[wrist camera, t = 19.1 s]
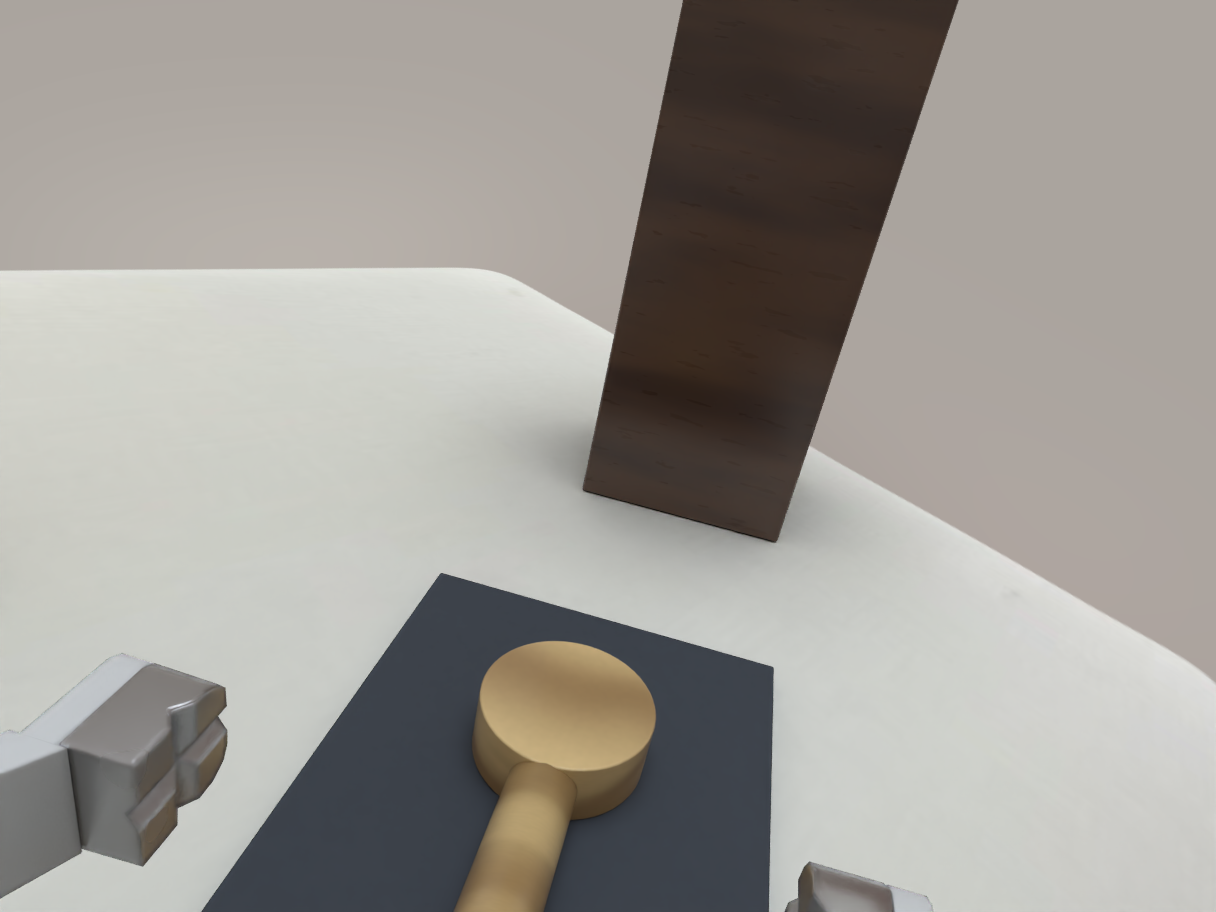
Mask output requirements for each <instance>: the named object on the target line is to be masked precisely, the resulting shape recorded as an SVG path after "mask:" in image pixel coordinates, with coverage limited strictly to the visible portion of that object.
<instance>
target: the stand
mask: <svg viewBox="0 0 1216 912" xmlns="http://www.w3.org/2000/svg"><path fill="white" fill-rule="evenodd" d="M957 4H958V0H683V3H682V8H681V13H680V18H679V23H678V27H677V33H676V37H675V42H674V47H673V52H672V57H671V62H670V67H669V71H668V76H667V81H666V86H665V91H664V95H663V100H662V105H661V110H660V115H659V120H658V125H657V130H656V134H655V139H654V144H653V149H652V154H651V159H650V164H649V169H648V173H647V178H646V183H645V188H644V193H643V198H642V203H641V208H640V212H639V217H638V222H637V227H636V232H635V237H634V241H633V247H632V251H631V256H630V261H629V266H628V271H627V276H626V280H625V286H624V290H623V295H622V300H621V305H620V310H619V314H618V319H617V325H616V329H615V334H614V339H613V344H612V349H611V353H610V358H609V363H608V368H607V373H606V378H605V383H604V387H603V392H602V397H601V402H600V407H599V412H598V417H597V422H596V426H595V431H594V436H593V441H592V446H591V451H590V456H589V460H588V465H587V470H586V475H585V480H584V485H583V490H585V491H589V492H593V493H596V494H600V495H604V496H607V497H611V498H615V499H619V500H622V501H626V502H630V503H633V504H637V505H641V506H645V507H648V508H652V509H656V510H659V511H663V512H667V513H671V514H674V515H678V516H682V517H685V518H689V519H693V520H696V521H700V522H704V523H708V524H711V525H715V526H719V527H722V528H726V529H730V530H734V531H737V532H741V533H745V534H748V535H752V536H756V537H760V538H763V539H767V540H771V541H774V542H776V541H777V540H778V537H779V534H780V531H781V528H782V525H783V522H784V519H785V516H786V513H787V510H788V507H789V504H790V501H791V498H792V495H793V492H794V489H795V486H796V483H797V480H798V477H799V474H800V471H801V468H802V465H803V462H804V459H805V456H806V453H807V450H808V447H809V444H810V442H811V439H812V436H813V432H814V430H815V426H816V423H817V421H818V418H819V414H820V411H821V409H822V406H823V403H824V400H825V397H826V394H827V391H828V388H829V385H830V382H831V379H832V376H833V373H834V370H835V367H836V364H837V361H838V358H839V355H840V352H841V349H842V346H843V343H844V340H845V337H846V334H847V331H848V328H849V325H850V322H851V319H852V316H853V313H854V310H855V307H856V304H857V301H858V298H859V295H860V293H861V290H862V287H863V284H864V280H865V277H866V275H867V272H868V269H869V266H870V263H871V259H872V257H873V253H874V251H875V248H876V245H877V242H878V239H879V236H880V233H881V230H882V227H883V224H884V221H885V218H886V215H887V212H888V209H889V206H890V203H891V200H892V197H893V194H894V191H895V188H896V185H897V182H898V179H899V176H900V173H901V170H902V167H903V164H904V161H905V158H906V155H907V152H908V150H909V147H910V144H911V140H912V137H913V134H914V131H915V129H916V126H917V122H918V120H919V116H920V114H921V111H922V108H923V105H924V102H925V99H926V95H927V93H928V90H929V87H930V84H931V81H932V78H933V75H934V72H935V69H936V66H937V63H938V60H939V57H940V54H941V51H942V48H943V45H944V42H945V39H946V36H947V33H948V30H949V27H950V24H951V21H952V18H953V15H954V12H955V10H956V6H957Z"/></svg>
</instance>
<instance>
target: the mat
mask: <svg viewBox="0 0 1216 912" xmlns="http://www.w3.org/2000/svg"><path fill="white" fill-rule="evenodd" d="M545 641H564V642H572V643H578V644H583V645H587V646H590V647H593V648H596V649H599V650H601V651H604V652H606V653H608V654H610V655H612V656H614V657H615V658H617V659H619V660H620V661H622V662H623V663H625V664H626V665H627V666H628V667H630V668H631V669H632V670H633V671H634V672H635V673H636V674H637V675H638V676H639V677H640V678H641V679H642V681H643V682H644V683H645V685H646V686H647V688H648V690H649V691H650V694H651V696H652V698H653V701H654V705H655V710H656V723H655V729H654V732H653V735H652V739H651V742H650V746H649V749H648V752H647V756H646V759H645V763H644V766H643V770H642V773H641V776H640V780H639V782H638V784H637V786H636V788H635V789H634V790H633V792H632V793H631V794H630V795H629V796H628V797H627V798H626V799H625V800H624V801H623V802H622V803H621V804H619V805H618V806H617V807H615V808H613V809H612V810H610V811H608V812H606V813H603V814H600V815H598V816H595V817H590V818H586V819H578V820H570V822H569V826H568V829H567V833H566V836H565V840H564V843H563V846H562V850H561V853H560V857H559V860H558V864H557V867H556V871H555V874H554V877H553V881H552V884H551V888H550V891H549V895H548V898H547V902H546V905H545V908H544V912H769V866H770V819H771V771H772V723H773V675H774V668H773V667H771V666H768V665H764V664H760V663H757V662H753V661H750V660H746V659H743V658H739V657H736V656H732V655H729V654H725V653H722V652H718V651H715V650H711V649H708V648H704V647H701V646H697V645H694V644H690V643H686V642H683V641H679V640H676V639H672V638H669V637H665V636H662V635H658V634H655V633H651V632H648V631H644V630H641V629H637V628H634V627H630V626H627V625H623V624H620V623H616V622H612V621H609V620H605V619H602V618H598V617H595V616H591V615H588V614H584V613H581V612H577V611H574V610H570V609H567V608H563V607H560V606H556V605H553V604H549V603H546V602H542V601H539V600H535V599H531V598H528V597H524V596H521V595H517V594H514V593H510V592H507V591H503V590H500V589H496V588H493V587H489V586H486V585H482V584H479V583H475V582H472V581H468V580H465V579H461V578H457V577H454V576H450V575H447V574H443V573H440V575H439V576H438V578H437V579H436V580H435V582H434V583H433V585H432V586H431V588H430V589H429V590H428V592H427V593H426V595H425V596H424V597H423V599H422V600H421V602H420V603H419V605H418V606H417V607H416V609H415V610H414V612H413V613H412V614H411V616H410V617H409V619H408V620H407V622H406V623H405V624H404V626H403V627H402V629H401V630H400V631H399V633H398V634H397V636H396V637H395V639H394V640H393V641H392V643H391V644H390V646H389V647H388V648H387V650H386V651H385V653H384V654H383V655H382V657H381V658H380V660H379V661H378V663H377V664H376V665H375V667H374V668H373V670H372V671H371V672H370V674H369V675H368V677H367V678H366V680H365V681H364V682H363V684H362V685H361V687H360V688H359V689H358V691H357V692H356V694H355V695H354V697H353V698H352V699H351V701H350V702H349V704H348V705H347V706H346V708H345V709H344V711H343V712H342V713H341V715H340V716H339V718H338V719H337V721H336V722H335V723H334V725H333V726H332V728H331V729H330V730H329V732H328V733H327V735H326V736H325V738H324V739H323V740H322V742H321V743H320V745H319V746H318V747H317V749H316V750H315V752H314V753H313V755H312V756H311V757H310V759H309V760H308V762H307V763H306V764H305V766H304V767H303V769H302V770H301V771H300V773H299V774H298V776H297V777H296V779H295V780H294V781H293V783H292V784H291V786H290V787H289V788H288V790H287V791H286V793H285V794H284V796H283V797H282V798H281V800H280V801H279V803H278V804H277V805H276V807H275V808H274V810H273V811H272V813H271V814H270V815H269V817H268V818H267V820H266V821H265V822H264V824H263V825H262V827H261V828H260V829H259V831H258V832H257V834H256V835H255V837H254V838H253V839H252V841H251V842H250V844H249V845H248V846H247V848H246V849H245V851H244V852H243V854H242V855H241V856H240V858H239V859H238V861H237V862H236V863H235V865H234V866H233V868H232V869H231V871H230V872H229V873H228V875H227V876H226V878H225V879H224V880H223V882H222V883H221V885H220V886H219V888H218V889H217V890H216V892H215V893H214V895H213V896H212V897H211V899H210V900H209V902H208V903H207V904H206V906H205V907H204V909H203V910H202V912H453V911H454V909H455V906H456V904H457V901H458V899H459V896H460V894H461V891H462V889H463V886H464V884H465V881H466V879H467V876H468V874H469V871H470V869H471V866H472V864H473V861H474V859H475V856H476V854H477V851H478V849H479V846H480V844H481V841H482V839H483V836H484V834H485V831H486V829H487V826H488V824H489V821H490V819H491V816H492V814H493V811H494V809H495V806H496V804H497V801H498V799H499V795H498V794H497V793H495V792H494V791H493V790H492V789H491V787H490V786H489V785H488V784H487V783H486V781H485V780H484V779H483V777H482V776H481V774H480V772H479V770H478V768H477V766H476V763H475V760H474V757H473V751H472V736H473V730H474V724H475V718H476V712H477V705H478V699H479V693H480V688H481V683H482V681H483V678H484V676H485V674H486V673H487V671H488V669H489V668H490V667H491V666H492V665H493V664H494V662H495V661H497V660H498V659H499V658H500V657H501V656H503V655H504V654H506V653H508V652H509V651H511V650H513V649H516V648H518V647H521V646H524V645H527V644H532V643H536V642H545Z"/></svg>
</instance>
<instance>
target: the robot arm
mask: <svg viewBox="0 0 1216 912" xmlns="http://www.w3.org/2000/svg"><path fill="white" fill-rule="evenodd" d="M226 706H227V704H226V691H225V687H222V686H220V685H218V684H216V683H213V682H210V681H207V680H204V679H201V678H198V677H195V676H192V675H189V674H186V673H183V672H180V671H177V670H174V669H171V668H168V667H165V666H161V665H158V664H155V663H151V662H148V661H145V660H142V659H139V658H136V657H133V656H130V655H126V654H123V653H121V654H118V655H116V656H113V657H110V658H108V659H107V660H106V661H104V662H103V663H102V664H101V665H100V666H98V667H97V668H96V669H95V670H94V671H93V672H91V673H90V674H89V675H88V676H87V677H85V678H84V679H83V680H82V681H81V682H79V683H78V684H77V685H76V686H75V687H74V688H72V689H71V690H70V691H69V692H68V693H66V694H65V695H64V696H63V697H62V698H60V699H59V700H58V701H57V702H56V703H54V704H53V705H52V706H51V707H50V708H49V709H47V710H46V711H45V712H44V713H43V714H41V715H40V716H39V717H38V718H37V719H35V720H34V721H33V722H32V723H31V724H30V725H28V726H27V727H26V728H25V729H24V730H22V731H21V732H20V733H19V732H15V731H12V730H8V731H5V732H2V733H0V898H2V897H4V896H5V895H7V894H9V893H11V892H13V891H14V890H16V889H18V888H20V887H22V886H23V885H25V884H27V883H29V882H30V881H32V880H34V879H36V878H38V877H39V876H41V875H43V874H45V873H46V872H48V871H50V870H52V869H54V868H55V867H57V866H59V865H61V864H63V863H64V862H66V861H68V860H70V859H71V858H73V857H75V856H77V855H79V854H80V853H81V852H82V850H81V849H84V850H88V851H91V852H95V853H98V854H101V855H105V856H108V857H112V858H115V859H119V860H122V861H125V862H129V863H132V864H136V865H139V866H142V867H143V866H144V865H145V863H146V862H147V861H148V860H149V859H150V857H151V856H152V855H153V854H154V853H155V851H156V850H157V849H158V848H159V847H160V845H161V844H162V843H163V842H164V840H165V839H166V838H167V837H168V836H169V834H170V833H171V832H172V831H173V830H174V828H175V827H176V826H177V817H178V808H179V807H181V806H183V805H186V804H188V803H190V802H192V801H194V800H197V799H199V798H200V797H201V795H202V794H203V793H204V792H205V790H206V789H207V788H208V787H209V785H210V784H211V783H212V782H213V780H214V778H215V776H216V774H217V772H218V770H219V768H220V766H221V764H222V762H223V760H224V756H225V751H226V747H227V729H226V728H225V726H224V725H223V723H222V722H221V720H220V719H219V717H218V715H219V714H220V713H221V712H222V711H223V710H224V708H225V707H226ZM785 912H933V907H932V904H931V902H930V901H929V899H928V897H927V896H924V895H920V894H917V893H914V892H910V891H907V890H904V889H900V888H897V887H894V886H890V885H885V884H884V883H882V882H878V881H875V880H872V879H868V878H865V877H861V876H858V875H854V874H851V873H847V872H844V871H840V870H837V869H833V868H830V867H826V866H823V865H819V864H816V863H813V862H809V863H808V864H807V865H806V866H805V867H804V869H803V871H802V873H801V875H800V877H799V879H798V898H797V899H795V900H793V901H791V902H789V903H788V905H787V907H786V910H785Z"/></svg>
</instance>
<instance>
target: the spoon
mask: <svg viewBox="0 0 1216 912" xmlns="http://www.w3.org/2000/svg"><path fill="white" fill-rule="evenodd" d="M655 723H656V710H655V705H654V701H653V698H652V696H651V694H650V691H649V690H648V688H647V686H646V685H645V683H644V682H643V681H642V679H641V678H640V677H639V676H638V675H637V674H636V673H635V672H634V671H633V670H632V669H631V668H630V667H628V666H627V665H626V664H625V663H623V662H622V661H620V660H619V659H617V658H615V657H614V656H612V655H610V654H608V653H606V652H604V651H601V650H599V649H596V648H593V647H590V646H587V645H583V644H578V643H572V642H564V641H545V642H536V643H532V644H527V645H524V646H521V647H518V648H516V649H513V650H511V651H509V652H508V653H506V654H504V655H503V656H501V657H500V658H499V659H498V660H497V661H495V662H494V664H493V665H492V666H491V667H490V668H489V669H488V671H487V673H486V674H485V676H484V678H483V681H482V683H481V688H480V693H479V699H478V705H477V712H476V718H475V724H474V730H473V736H472V751H473V757H474V760H475V763H476V766H477V768H478V770H479V772H480V774H481V776H482V777H483V779H484V780H485V781H486V783H487V784H488V785H489V786H490V787H491V789H492V790H493V791H494V792H495V793H497V794H498V795H499V799H498V801H497V804H496V806H495V809H494V811H493V814H492V816H491V819H490V821H489V824H488V826H487V829H486V831H485V834H484V836H483V839H482V841H481V844H480V846H479V849H478V851H477V854H476V856H475V859H474V861H473V864H472V866H471V869H470V871H469V874H468V876H467V879H466V881H465V884H464V886H463V889H462V891H461V894H460V896H459V899H458V901H457V904H456V906H455V909H454V911H453V912H544V908H545V905H546V902H547V898H548V895H549V891H550V888H551V884H552V881H553V877H554V874H555V871H556V867H557V864H558V860H559V857H560V853H561V850H562V846H563V843H564V840H565V836H566V833H567V829H568V826H569V822H570V820H578V819H586V818H590V817H595V816H598V815H600V814H603V813H606V812H608V811H610V810H612V809H613V808H615V807H617V806H618V805H619V804H621V803H622V802H623V801H624V800H625V799H626V798H627V797H628V796H629V795H630V794H631V793H632V792H633V790H634V789H635V788H636V786H637V784H638V782H639V780H640V776H641V773H642V770H643V766H644V763H645V759H646V756H647V752H648V749H649V746H650V742H651V739H652V735H653V732H654V729H655Z"/></svg>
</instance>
